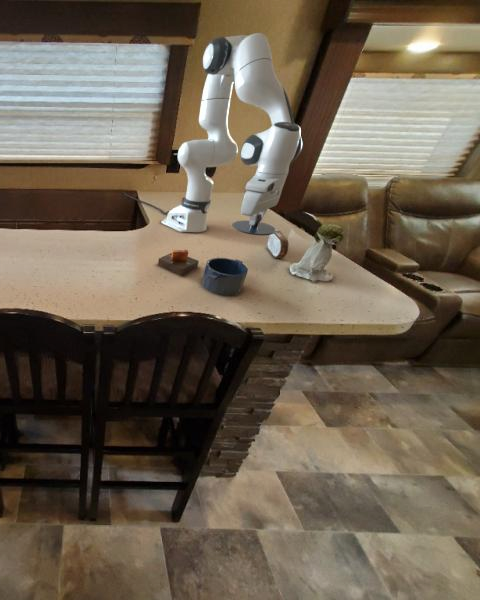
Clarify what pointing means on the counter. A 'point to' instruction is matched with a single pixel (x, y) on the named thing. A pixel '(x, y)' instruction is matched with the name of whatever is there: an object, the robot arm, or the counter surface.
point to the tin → (277, 244)
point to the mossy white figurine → (319, 254)
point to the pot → (224, 276)
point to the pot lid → (254, 227)
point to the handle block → (178, 264)
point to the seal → (179, 255)
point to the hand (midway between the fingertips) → (254, 223)
